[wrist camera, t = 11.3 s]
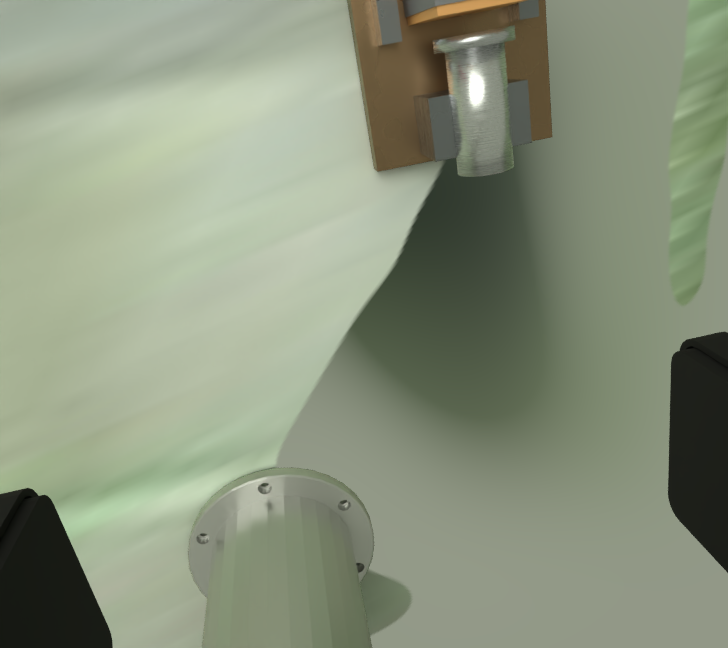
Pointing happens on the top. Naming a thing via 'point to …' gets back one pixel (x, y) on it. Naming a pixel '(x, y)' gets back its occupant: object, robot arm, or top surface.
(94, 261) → the top surface
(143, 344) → the top surface
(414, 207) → the top surface
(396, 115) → the shaft bench
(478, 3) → the block
